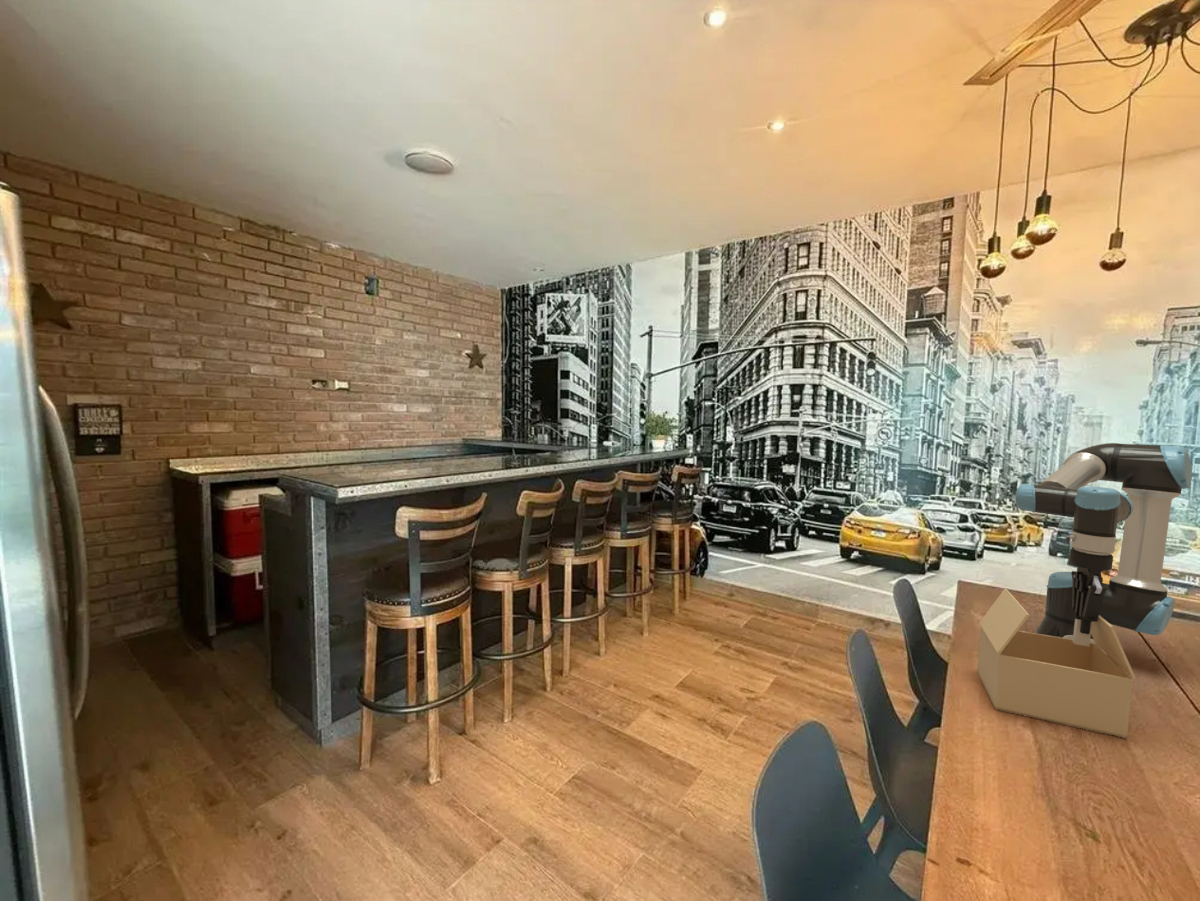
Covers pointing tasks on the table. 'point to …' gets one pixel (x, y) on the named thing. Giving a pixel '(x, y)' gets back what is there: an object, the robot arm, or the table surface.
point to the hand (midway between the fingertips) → (1080, 644)
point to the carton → (1057, 682)
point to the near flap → (1110, 643)
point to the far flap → (1003, 620)
